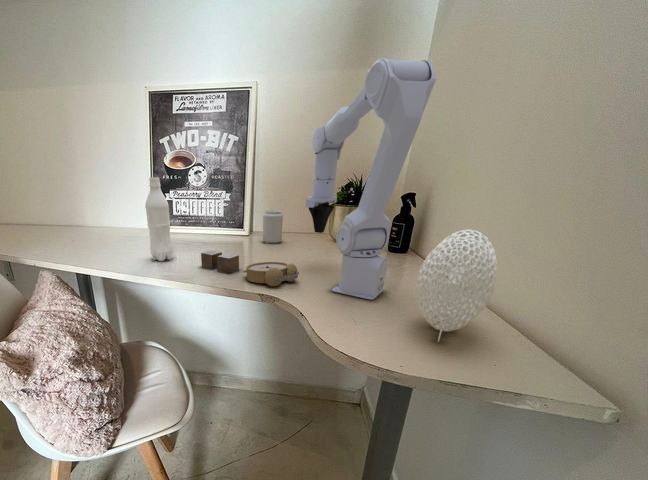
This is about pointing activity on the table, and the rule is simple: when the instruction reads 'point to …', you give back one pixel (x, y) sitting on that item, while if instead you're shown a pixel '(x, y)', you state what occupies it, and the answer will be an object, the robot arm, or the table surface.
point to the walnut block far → (210, 259)
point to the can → (272, 226)
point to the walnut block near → (228, 263)
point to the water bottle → (158, 222)
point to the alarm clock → (271, 273)
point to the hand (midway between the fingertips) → (319, 232)
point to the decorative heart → (456, 280)
